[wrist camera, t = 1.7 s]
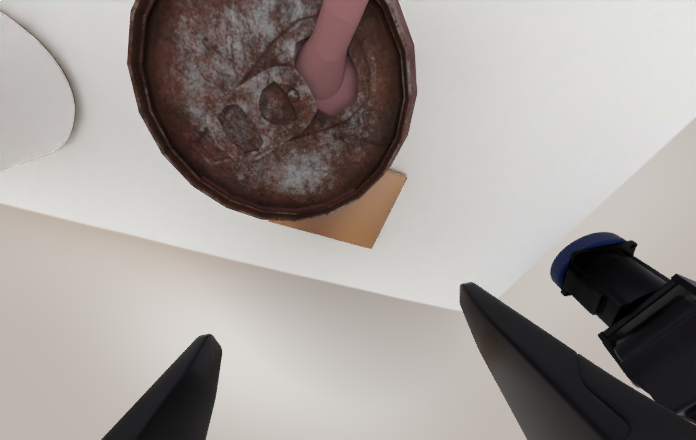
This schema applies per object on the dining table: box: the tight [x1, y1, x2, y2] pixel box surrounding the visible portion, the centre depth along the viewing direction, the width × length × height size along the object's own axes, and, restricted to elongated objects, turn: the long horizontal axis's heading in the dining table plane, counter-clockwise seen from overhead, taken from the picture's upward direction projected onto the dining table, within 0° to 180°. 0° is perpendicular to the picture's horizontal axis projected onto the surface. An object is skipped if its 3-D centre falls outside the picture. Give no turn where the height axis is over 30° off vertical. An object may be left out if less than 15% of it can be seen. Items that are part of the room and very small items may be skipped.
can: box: [127, 0, 417, 222], centre depth 11 cm, size 6×6×14 cm
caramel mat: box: [268, 169, 407, 249], centre depth 22 cm, size 9×7×1 cm
